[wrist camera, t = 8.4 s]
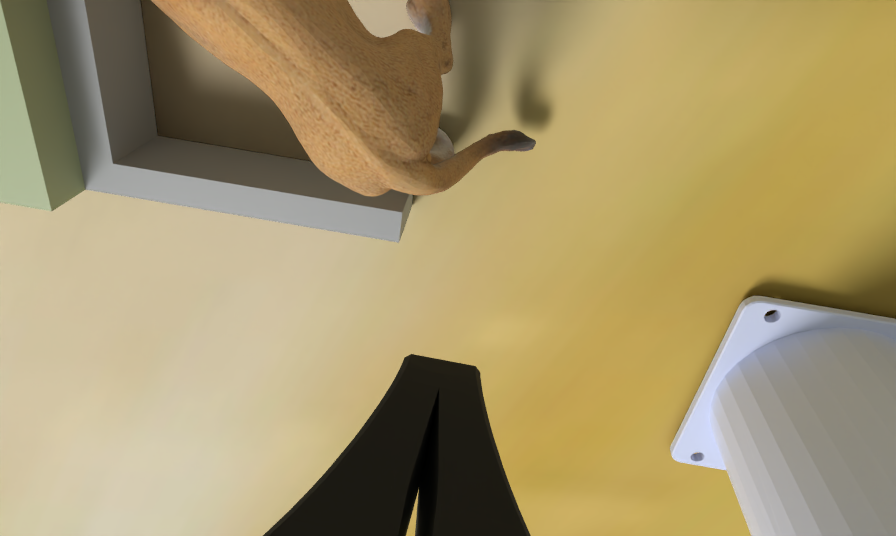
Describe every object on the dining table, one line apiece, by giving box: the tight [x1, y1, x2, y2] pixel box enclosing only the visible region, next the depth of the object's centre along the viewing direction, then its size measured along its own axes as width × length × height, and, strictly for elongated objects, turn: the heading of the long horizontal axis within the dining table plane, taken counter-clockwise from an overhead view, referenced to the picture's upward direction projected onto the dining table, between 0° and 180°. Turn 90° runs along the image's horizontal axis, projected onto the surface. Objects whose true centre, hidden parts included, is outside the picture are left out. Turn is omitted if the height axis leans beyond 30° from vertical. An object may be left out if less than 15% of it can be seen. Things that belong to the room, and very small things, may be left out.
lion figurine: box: [151, 0, 536, 197], centre depth 13 cm, size 15×5×9 cm, turn 57°
